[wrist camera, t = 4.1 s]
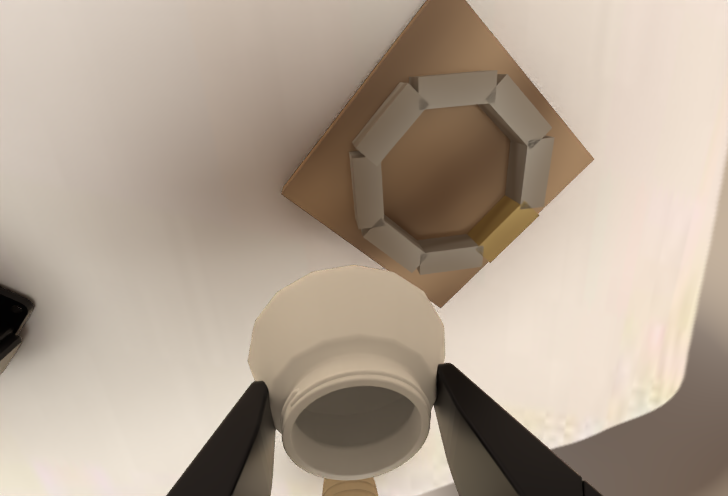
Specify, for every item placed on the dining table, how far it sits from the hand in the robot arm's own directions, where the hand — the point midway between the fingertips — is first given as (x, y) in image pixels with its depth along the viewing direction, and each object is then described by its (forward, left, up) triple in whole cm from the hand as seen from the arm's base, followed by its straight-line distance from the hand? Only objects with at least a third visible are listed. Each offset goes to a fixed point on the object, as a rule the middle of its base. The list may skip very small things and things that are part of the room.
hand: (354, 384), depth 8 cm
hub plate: (+3, +5, -11) cm, 13 cm away
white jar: (0, 0, -2) cm, 2 cm away
